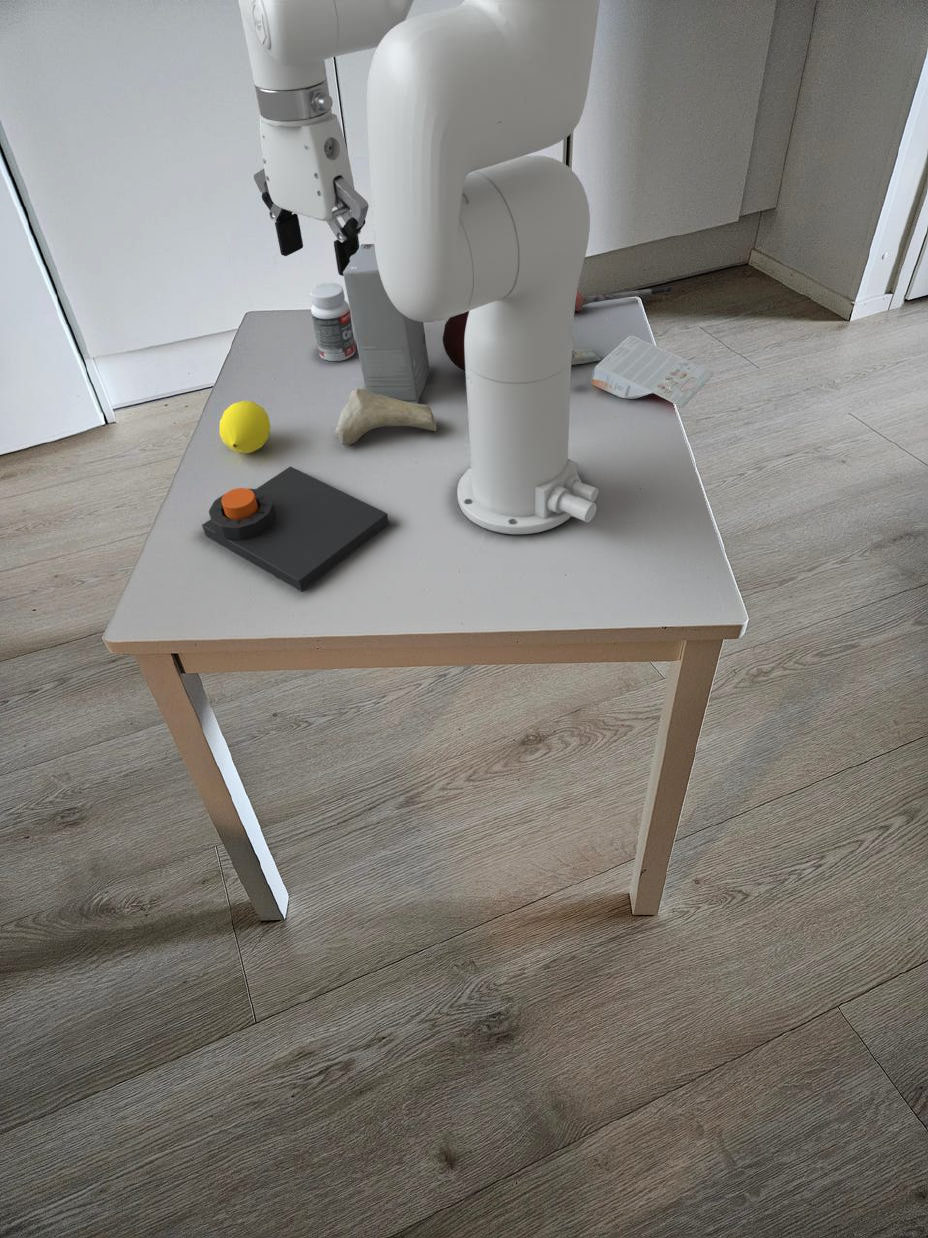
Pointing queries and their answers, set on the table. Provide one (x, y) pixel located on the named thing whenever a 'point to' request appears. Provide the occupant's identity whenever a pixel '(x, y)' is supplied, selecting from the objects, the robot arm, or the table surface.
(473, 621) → the table surface
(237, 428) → the lemon
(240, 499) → the button
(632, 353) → the ink box
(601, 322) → the table surface
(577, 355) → the granola bar
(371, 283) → the cosmetic box
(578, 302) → the screwdriver
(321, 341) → the pill bottle
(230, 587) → the table surface
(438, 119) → the robot arm
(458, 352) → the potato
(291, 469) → the scale
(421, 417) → the cream lumpy piece
